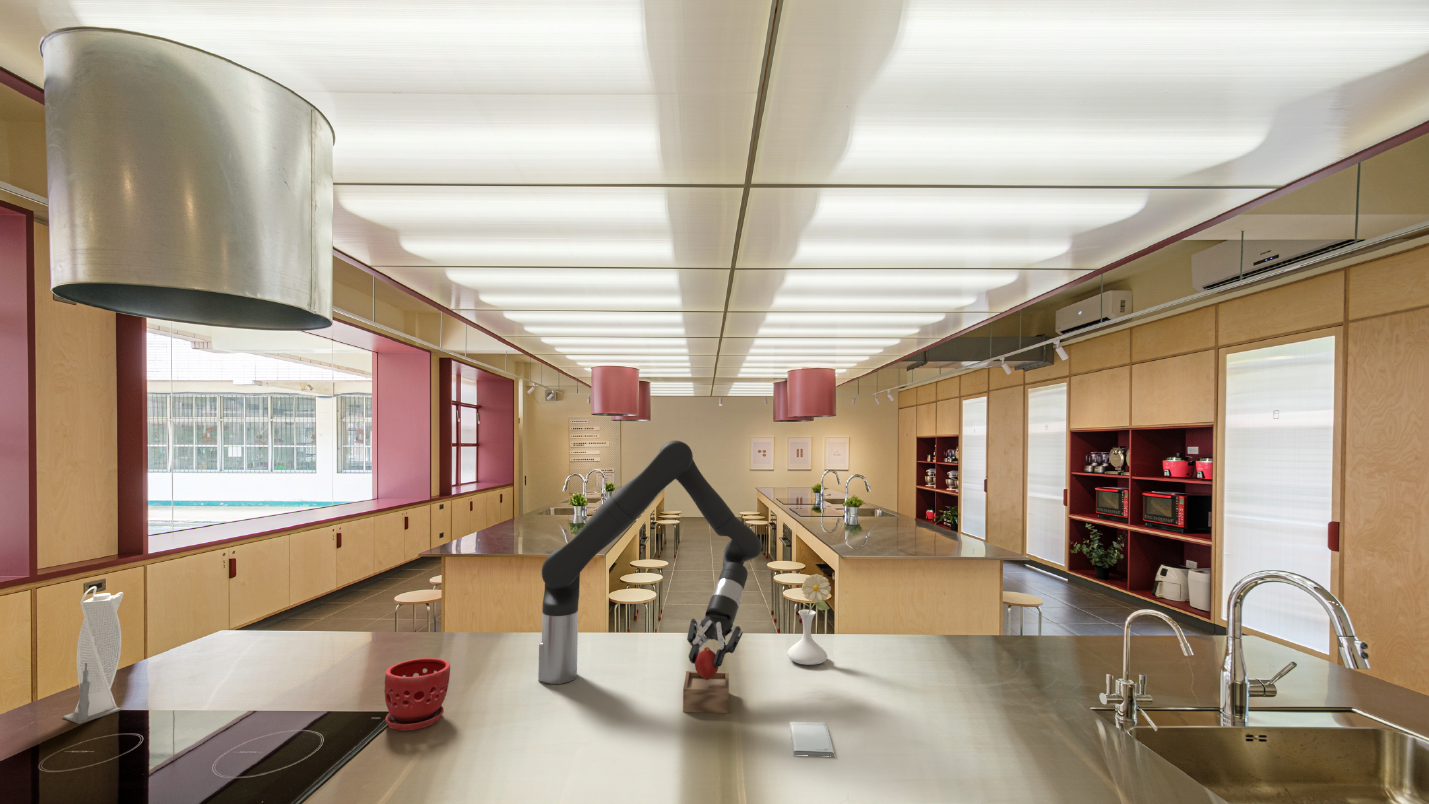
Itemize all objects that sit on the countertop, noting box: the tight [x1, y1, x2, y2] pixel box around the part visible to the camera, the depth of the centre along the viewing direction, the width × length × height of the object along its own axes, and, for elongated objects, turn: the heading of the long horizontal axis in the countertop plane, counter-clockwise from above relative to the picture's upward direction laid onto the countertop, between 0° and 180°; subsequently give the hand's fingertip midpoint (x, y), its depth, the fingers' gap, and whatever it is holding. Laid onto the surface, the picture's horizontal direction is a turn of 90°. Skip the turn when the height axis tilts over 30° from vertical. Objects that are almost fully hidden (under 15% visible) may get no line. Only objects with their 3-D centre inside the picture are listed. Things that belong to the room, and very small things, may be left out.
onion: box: [694, 646, 719, 680], centre depth 145 cm, size 6×6×8 cm
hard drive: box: [788, 721, 835, 758], centre depth 127 cm, size 2×8×12 cm
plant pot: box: [384, 657, 451, 732], centre depth 135 cm, size 13×13×12 cm
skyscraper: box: [62, 585, 125, 725], centre depth 138 cm, size 8×8×28 cm
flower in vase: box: [786, 573, 832, 666], centre depth 172 cm, size 13×11×25 cm
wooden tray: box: [682, 670, 730, 714], centre depth 145 cm, size 11×11×5 cm
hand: (703, 664), depth 144 cm, fingers closed on onion, 5 cm apart
